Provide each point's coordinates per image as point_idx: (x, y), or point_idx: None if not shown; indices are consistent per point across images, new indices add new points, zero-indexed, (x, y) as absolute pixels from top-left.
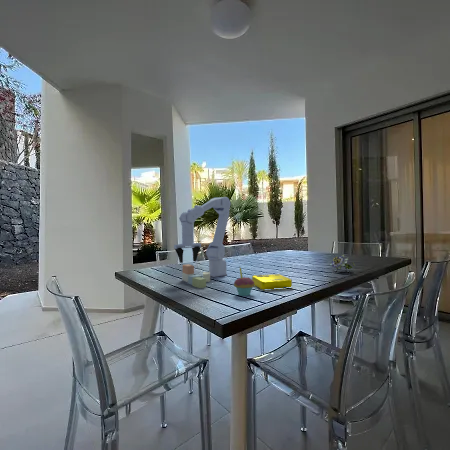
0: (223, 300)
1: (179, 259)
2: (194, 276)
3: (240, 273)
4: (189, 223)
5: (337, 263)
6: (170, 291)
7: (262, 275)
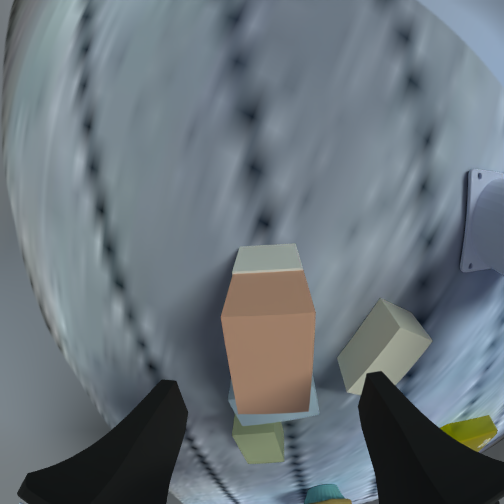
0: (249, 496)
1: (144, 408)
2: (258, 420)
3: None
4: None
5: None
6: (129, 412)
7: (465, 445)
